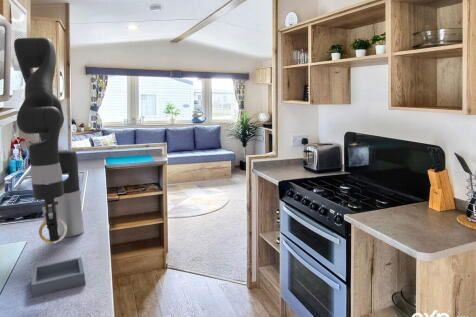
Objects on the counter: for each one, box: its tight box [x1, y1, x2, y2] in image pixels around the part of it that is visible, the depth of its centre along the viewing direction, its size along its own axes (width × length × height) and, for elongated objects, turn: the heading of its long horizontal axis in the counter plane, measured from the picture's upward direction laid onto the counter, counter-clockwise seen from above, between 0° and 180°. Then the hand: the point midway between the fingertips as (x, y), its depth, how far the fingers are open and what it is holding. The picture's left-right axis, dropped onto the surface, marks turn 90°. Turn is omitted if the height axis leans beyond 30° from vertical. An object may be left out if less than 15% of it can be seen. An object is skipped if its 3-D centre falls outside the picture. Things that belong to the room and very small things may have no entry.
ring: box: [38, 218, 67, 244], centre depth 100 cm, size 7×3×8 cm, turn 111°
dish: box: [30, 256, 86, 298], centre depth 102 cm, size 12×13×4 cm
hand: (54, 239), depth 101 cm, fingers closed on ring, 1 cm apart
